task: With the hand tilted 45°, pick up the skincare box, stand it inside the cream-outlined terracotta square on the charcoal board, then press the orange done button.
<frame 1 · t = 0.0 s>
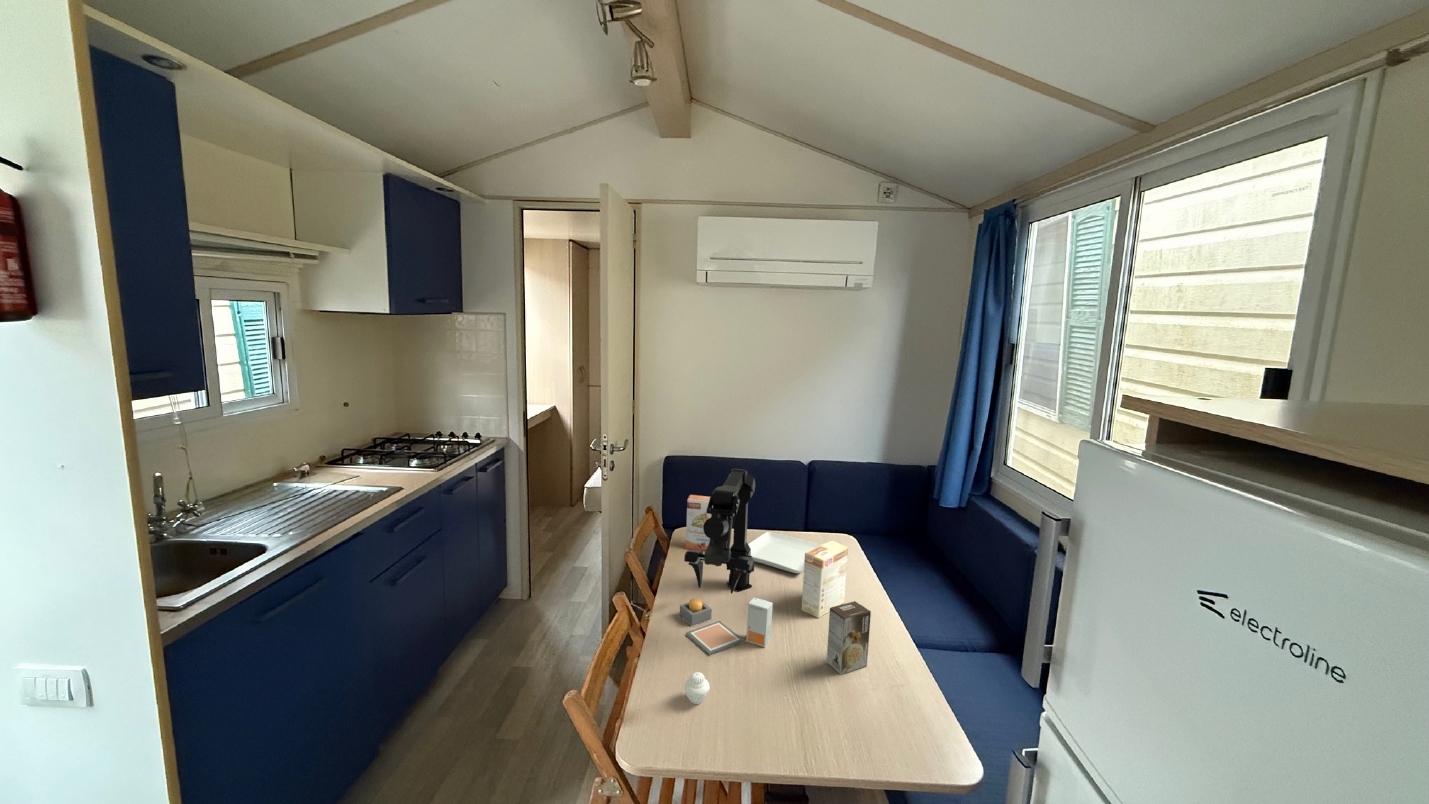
hand: (715, 590, 157), 15 cm above the table, tool pointing down, fingers open, 9 cm apart
cracker box: (703, 548, 222), on the table
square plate: (782, 558, 217), on the table
skincare box: (758, 642, 160), on the table
white lidded jar: (696, 700, 135), on the table
coffee box: (846, 664, 151), on the table
button housing: (695, 617, 171), on the table
picture board: (714, 638, 161), on the table
coffeecake box: (822, 606, 181), on the table
done button: (695, 606, 171), point 4 cm above the table, slide at 0.0 cm
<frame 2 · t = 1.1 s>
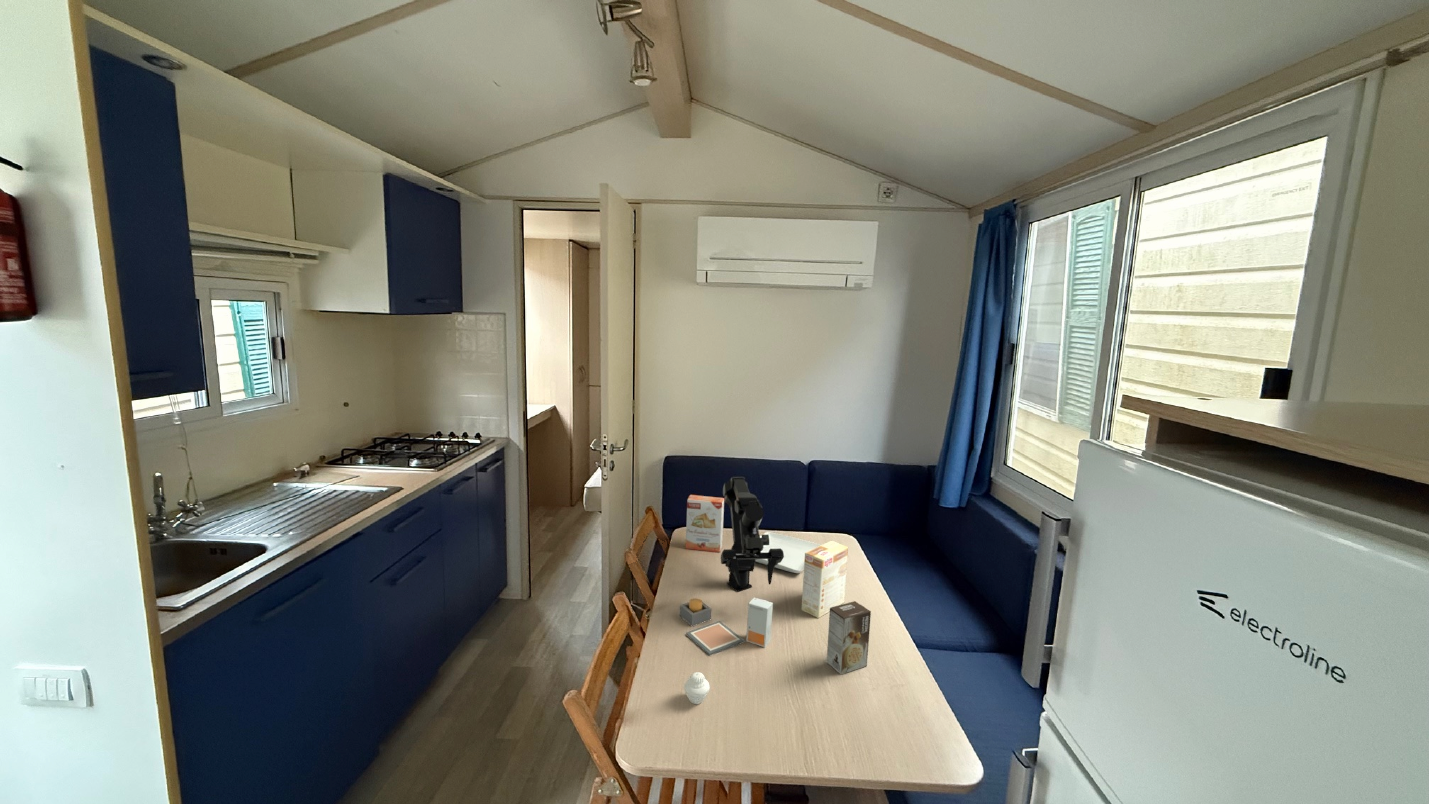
hand: (754, 584, 166), 13 cm above the table, tool tilted 45°, fingers open, 9 cm apart
nothing on the table moved.
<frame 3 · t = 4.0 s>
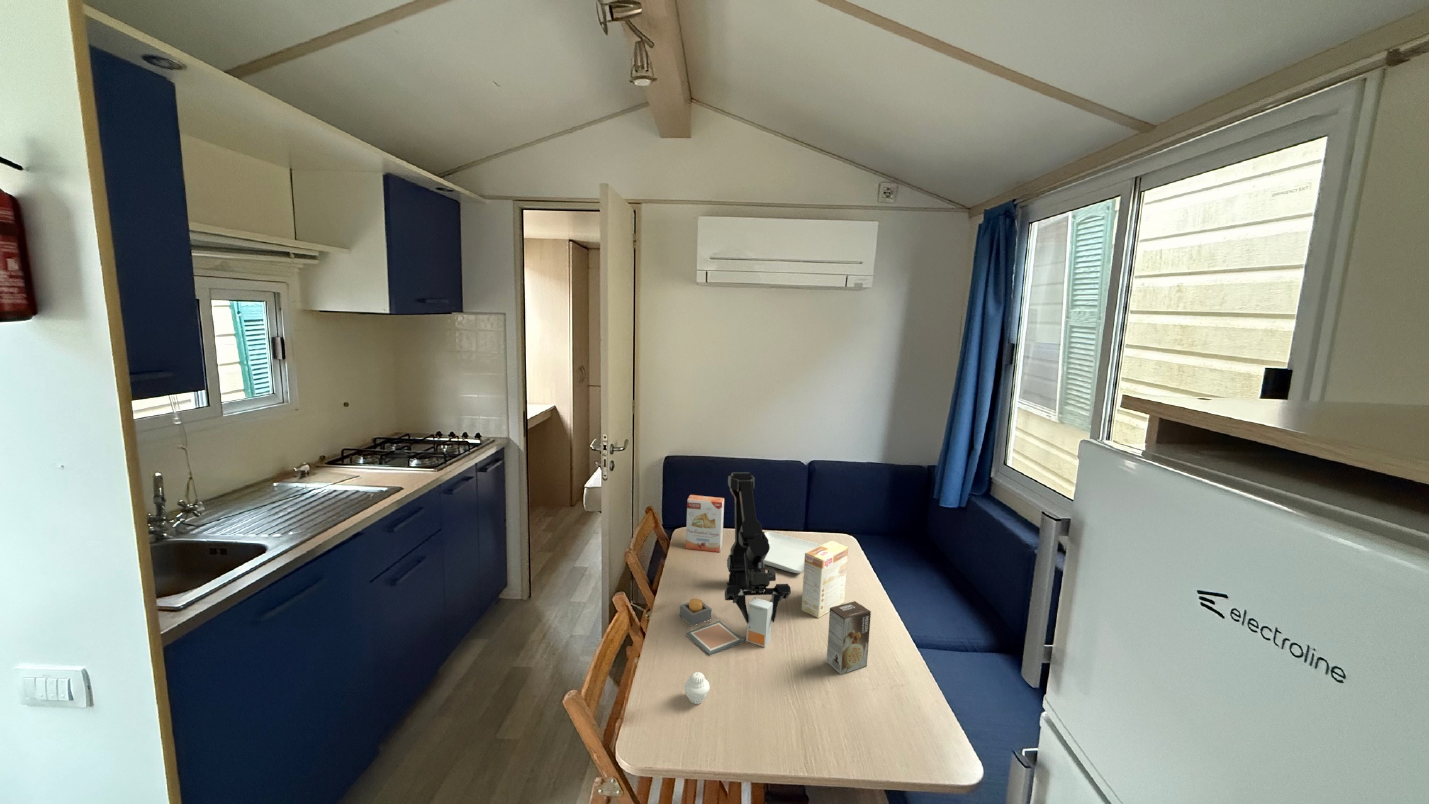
hand: (760, 622, 158), 7 cm above the table, tool tilted 45°, fingers closed on skincare box, 7 cm apart
skincare box: (758, 642, 160), on the table, touching gripper
everything else where it was.
when the fingers open (8 cm above the table, at t = 8.7 s): skincare box stays where it is, resting on picture board.
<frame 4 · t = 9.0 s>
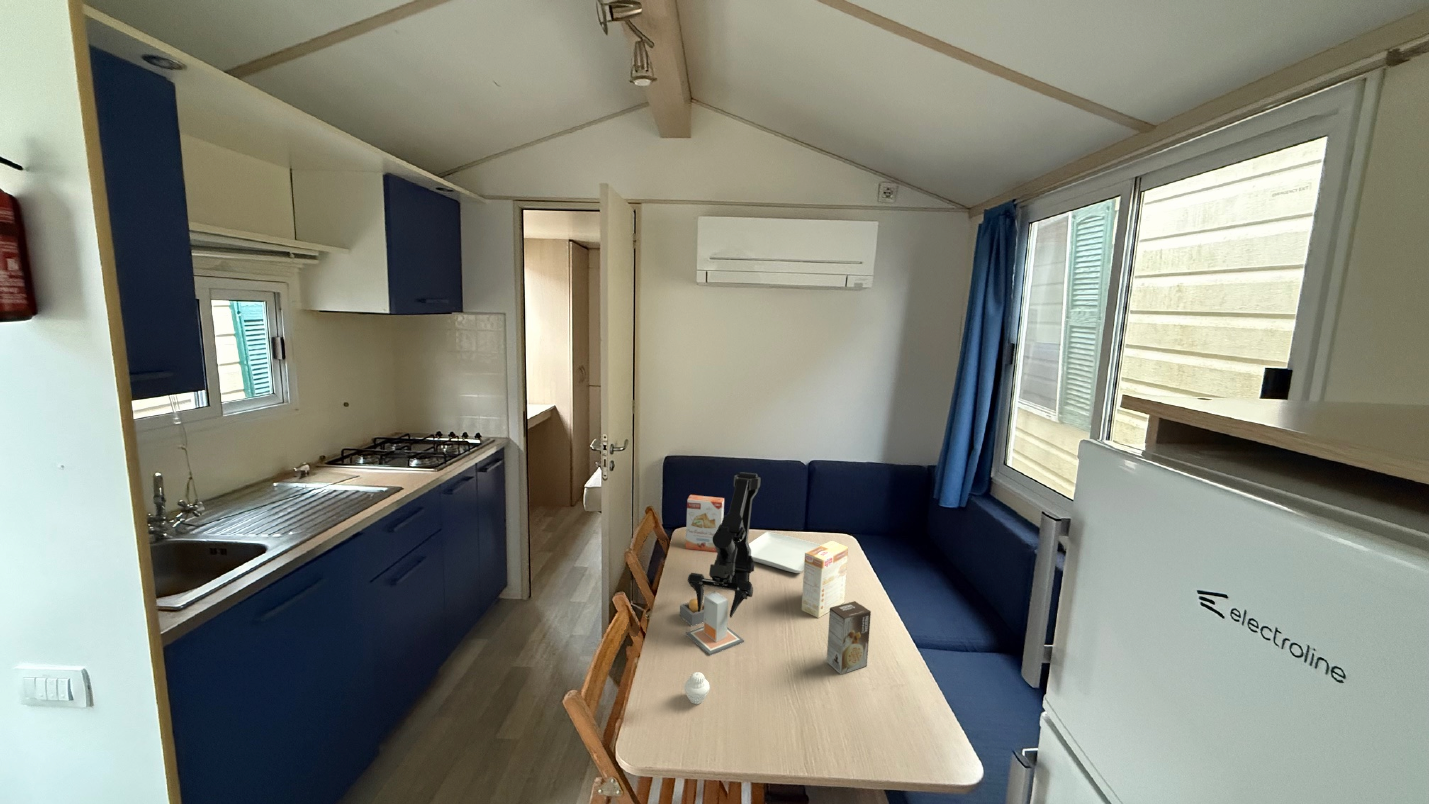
hand: (714, 614, 158), 8 cm above the table, tool tilted 45°, fingers open, 9 cm apart
skincare box: (715, 636, 161), point 1 cm above the table, touching picture board
everything else where it was.
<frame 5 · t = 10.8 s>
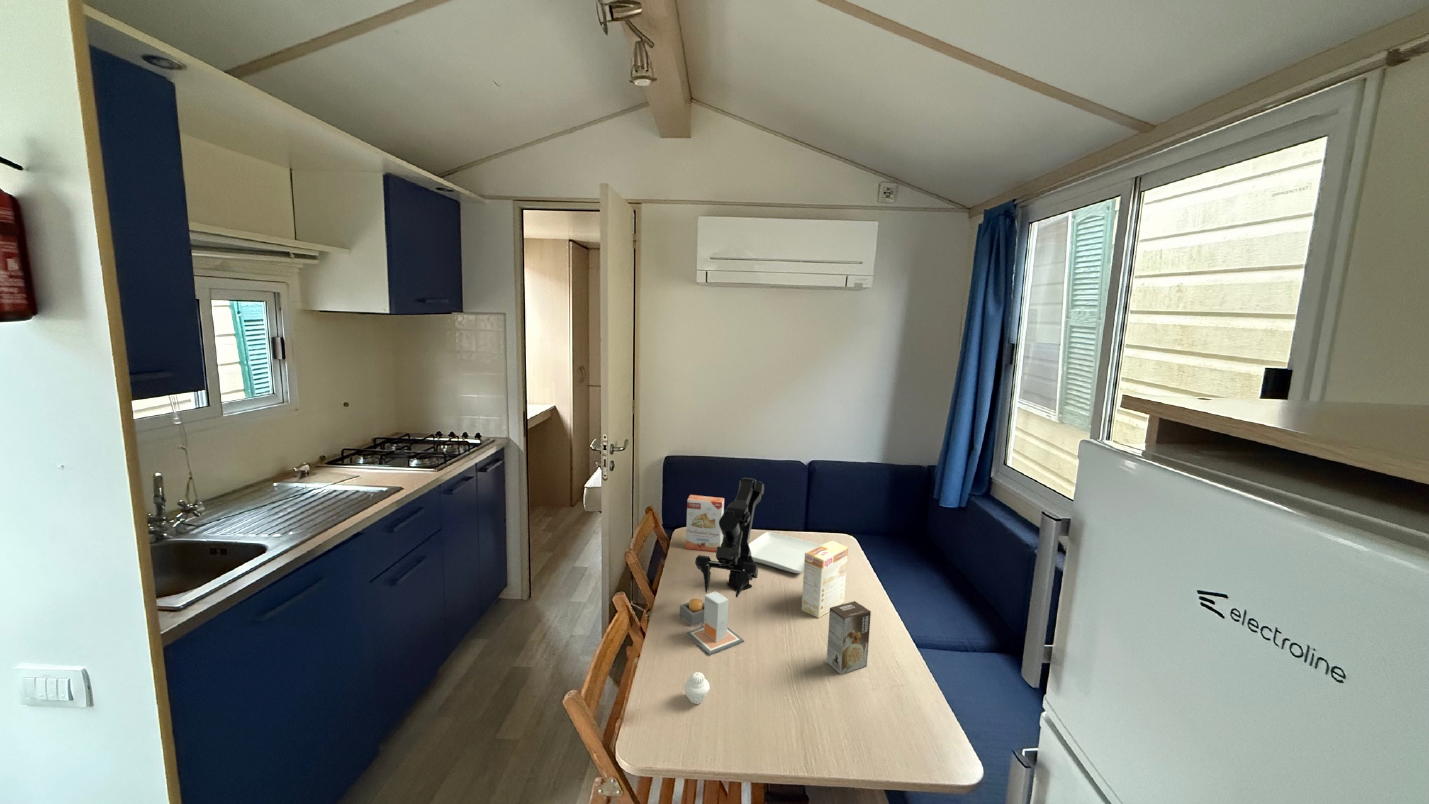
hand: (721, 594, 165), 11 cm above the table, tool tilted 45°, fingers open, 9 cm apart
nothing on the table moved.
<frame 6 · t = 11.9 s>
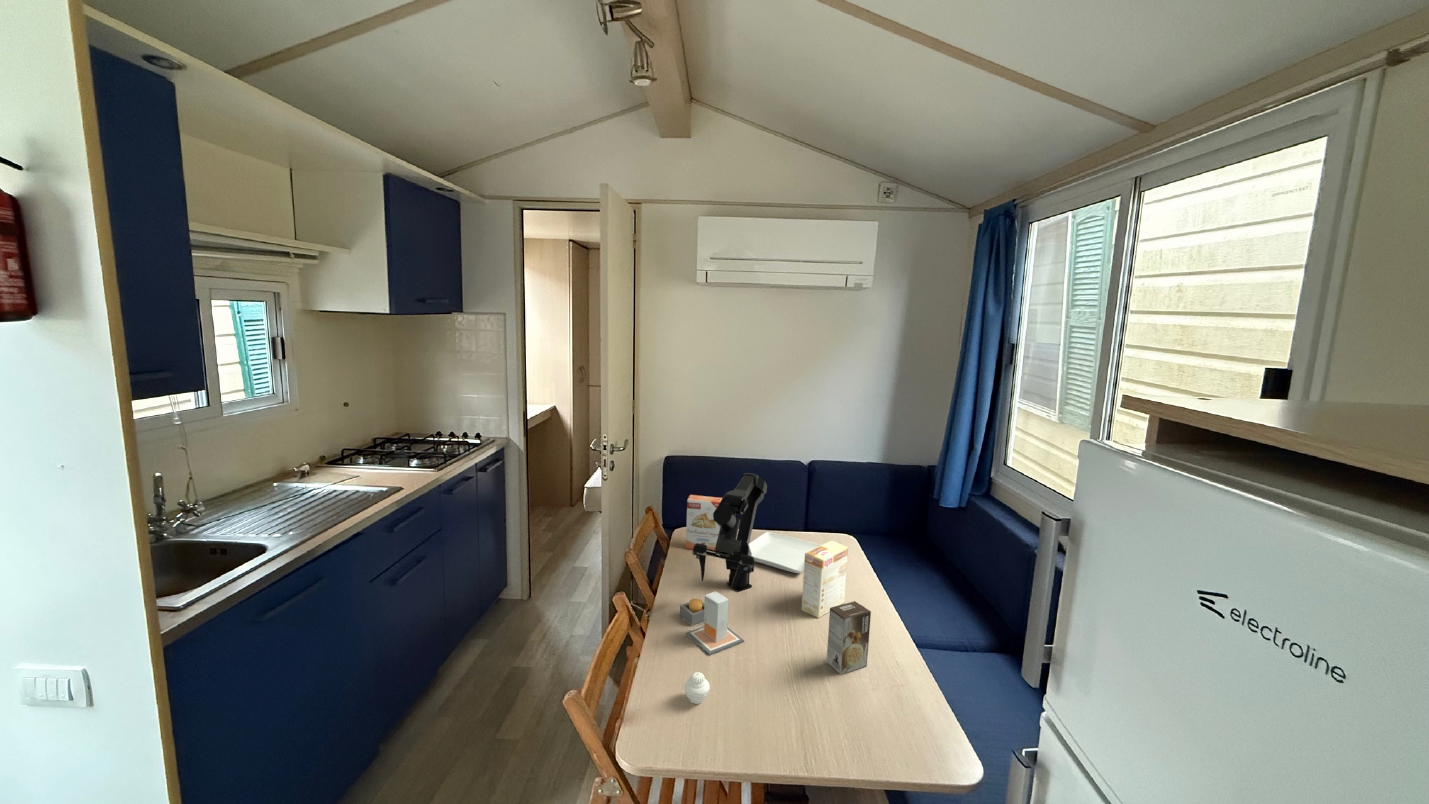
hand: (717, 584, 167), 12 cm above the table, tool tilted 35°, fingers open, 9 cm apart
nothing on the table moved.
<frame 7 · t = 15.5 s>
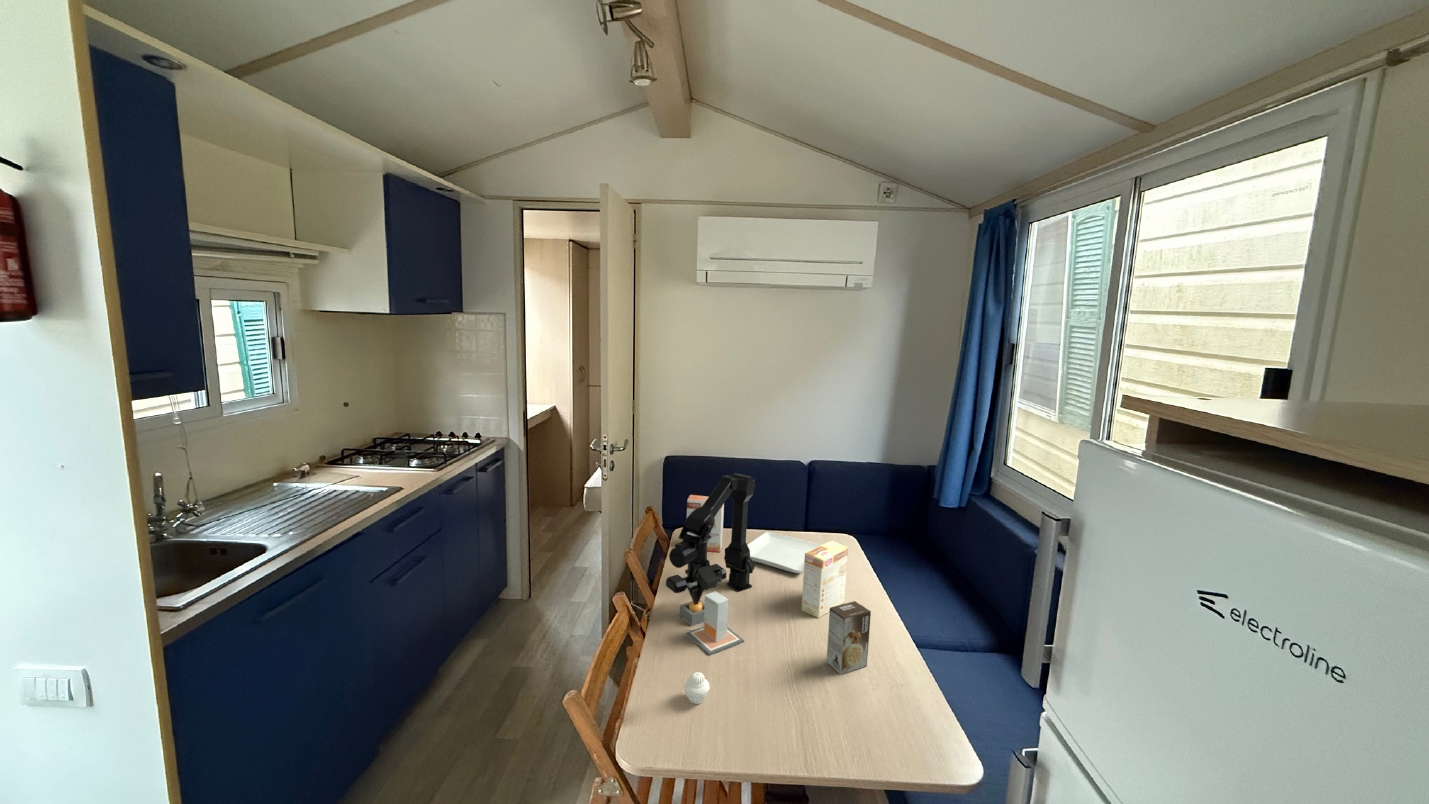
hand: (695, 603, 171), 4 cm above the table, tool pointing down, fingers closed, pressing on done button
done button: (695, 608, 171), point 3 cm above the table, slide at 0.7 cm, touching gripper
everything else where it was.
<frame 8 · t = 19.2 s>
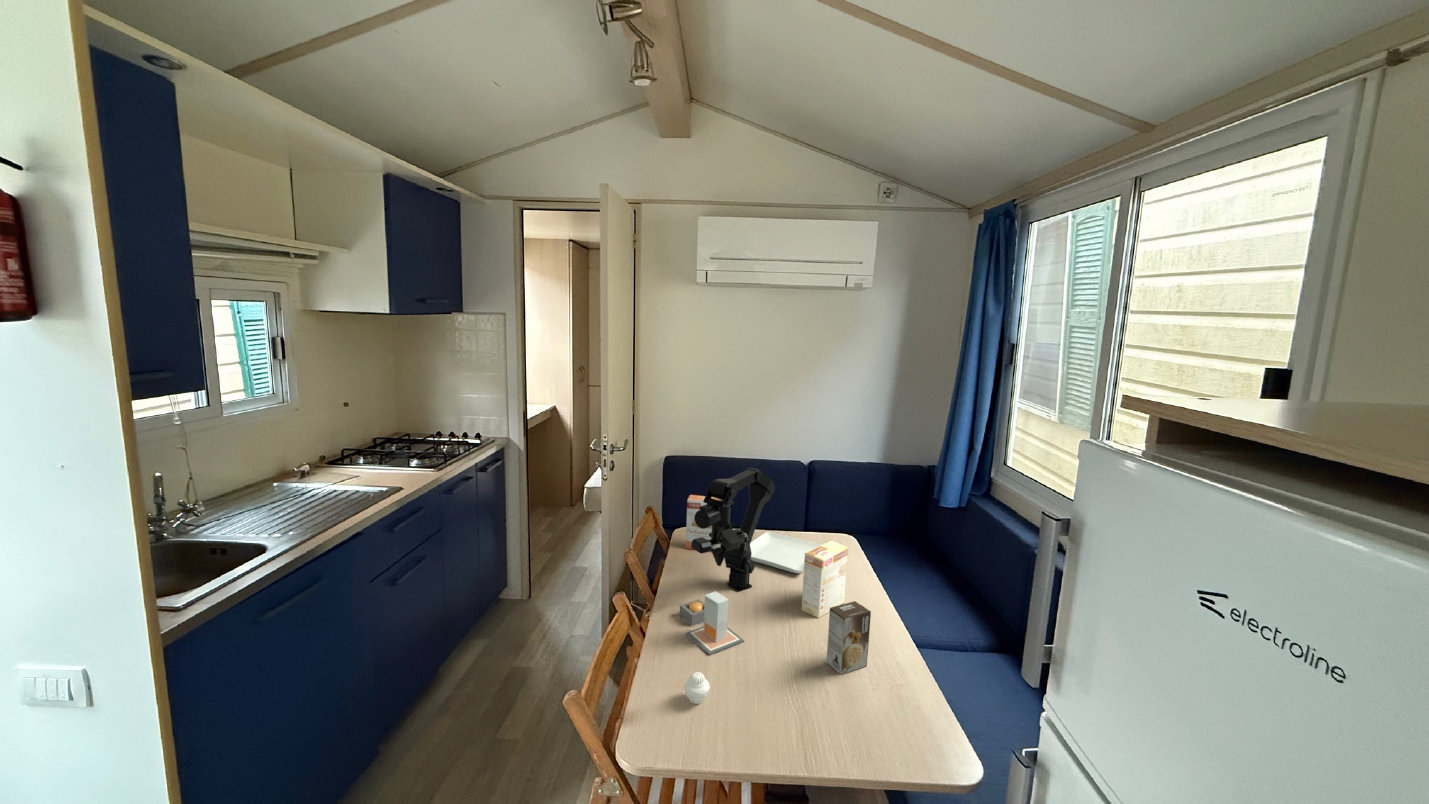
hand: (719, 565, 180), 12 cm above the table, tool pointing down, fingers closed
done button: (695, 609, 171), point 3 cm above the table, slide at 1.1 cm
everything else where it was.
at the end: skincare box 0.2 cm off-centre on the picture board, point 0.5 cm above the picture board's base; skincare box tilted 0°; done button slide at 1.1 cm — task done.
